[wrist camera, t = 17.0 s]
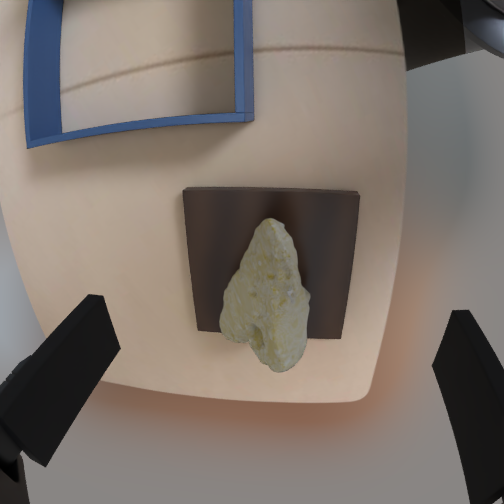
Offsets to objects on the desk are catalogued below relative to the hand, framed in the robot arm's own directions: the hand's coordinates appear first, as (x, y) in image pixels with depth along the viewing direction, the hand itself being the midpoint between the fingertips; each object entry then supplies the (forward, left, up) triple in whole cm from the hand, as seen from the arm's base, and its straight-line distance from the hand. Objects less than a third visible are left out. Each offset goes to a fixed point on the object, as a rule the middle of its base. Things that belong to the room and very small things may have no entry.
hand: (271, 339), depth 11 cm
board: (+2, +9, -24) cm, 25 cm away
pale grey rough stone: (+2, +9, -22) cm, 24 cm away
